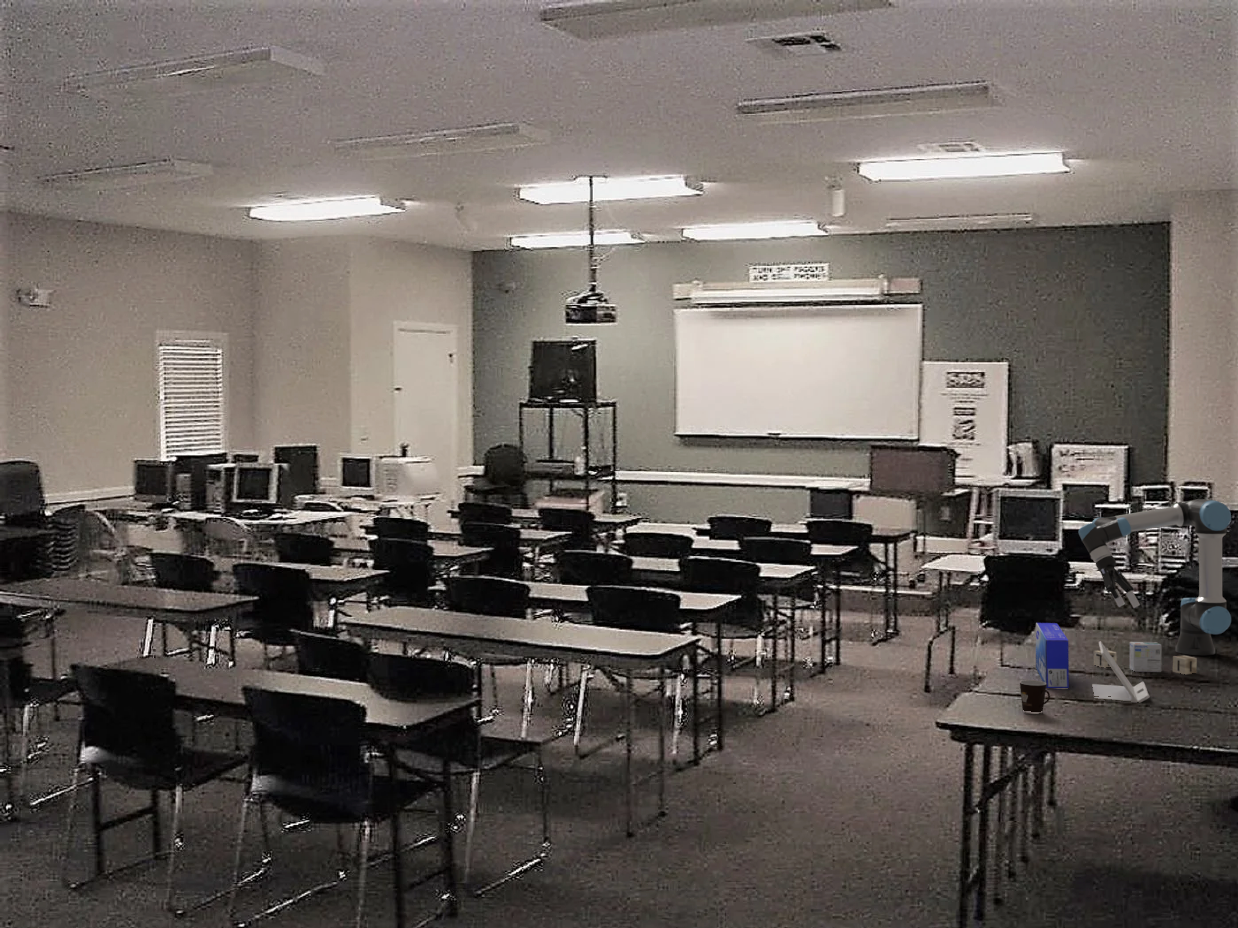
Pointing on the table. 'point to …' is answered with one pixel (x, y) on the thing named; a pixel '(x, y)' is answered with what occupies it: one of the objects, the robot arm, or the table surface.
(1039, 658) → the toner cartridge box
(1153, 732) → the table surface
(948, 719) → the table surface
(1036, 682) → the coffee mug
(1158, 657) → the light bulb box
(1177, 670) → the birch block one
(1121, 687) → the tablet stand
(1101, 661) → the birch block seven
